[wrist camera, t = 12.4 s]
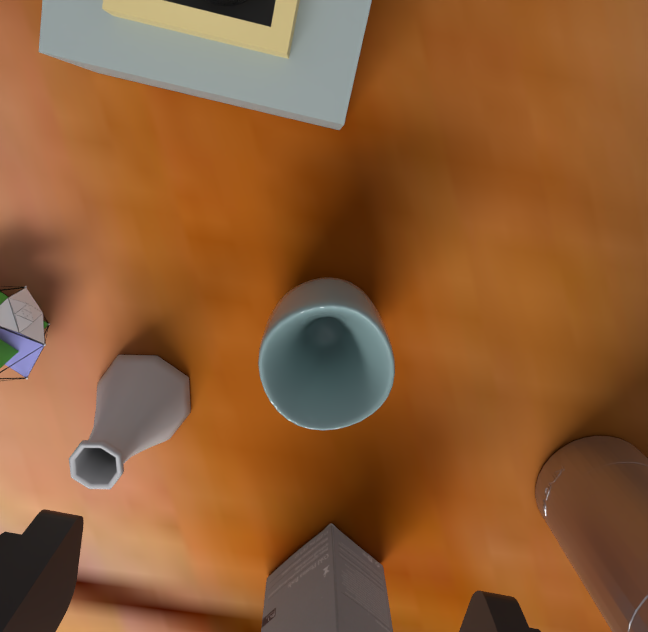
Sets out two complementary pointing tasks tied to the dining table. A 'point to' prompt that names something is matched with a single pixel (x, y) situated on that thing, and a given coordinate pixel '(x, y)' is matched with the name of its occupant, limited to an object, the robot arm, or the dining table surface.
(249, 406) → the dining table surface
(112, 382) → the flask
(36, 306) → the geometric puzzle
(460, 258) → the dining table surface
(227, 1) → the spout can
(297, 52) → the box with square opening
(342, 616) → the skincare box
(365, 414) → the cup
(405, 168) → the dining table surface
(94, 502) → the dining table surface
